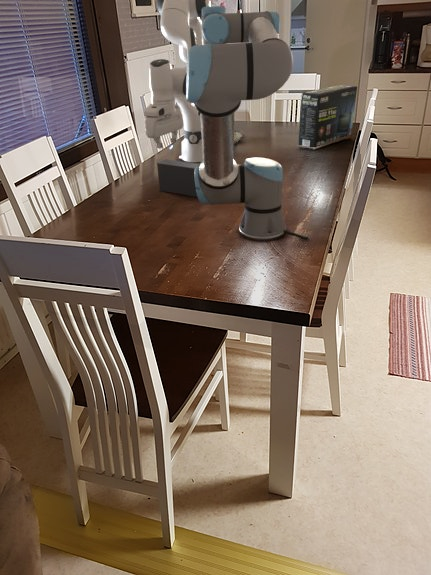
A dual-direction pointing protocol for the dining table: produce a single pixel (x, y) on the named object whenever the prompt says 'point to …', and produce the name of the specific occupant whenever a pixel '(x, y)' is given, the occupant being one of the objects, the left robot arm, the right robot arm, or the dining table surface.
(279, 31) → the right robot arm
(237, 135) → the fossil
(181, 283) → the dining table surface
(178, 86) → the left robot arm
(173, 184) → the box
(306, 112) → the router box
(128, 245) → the dining table surface
